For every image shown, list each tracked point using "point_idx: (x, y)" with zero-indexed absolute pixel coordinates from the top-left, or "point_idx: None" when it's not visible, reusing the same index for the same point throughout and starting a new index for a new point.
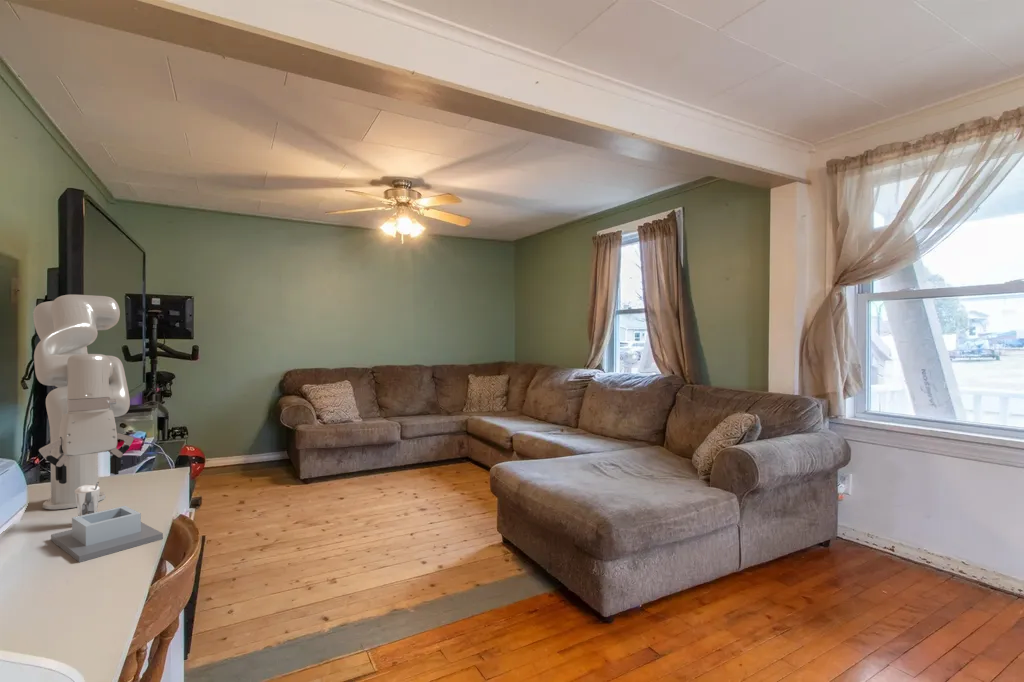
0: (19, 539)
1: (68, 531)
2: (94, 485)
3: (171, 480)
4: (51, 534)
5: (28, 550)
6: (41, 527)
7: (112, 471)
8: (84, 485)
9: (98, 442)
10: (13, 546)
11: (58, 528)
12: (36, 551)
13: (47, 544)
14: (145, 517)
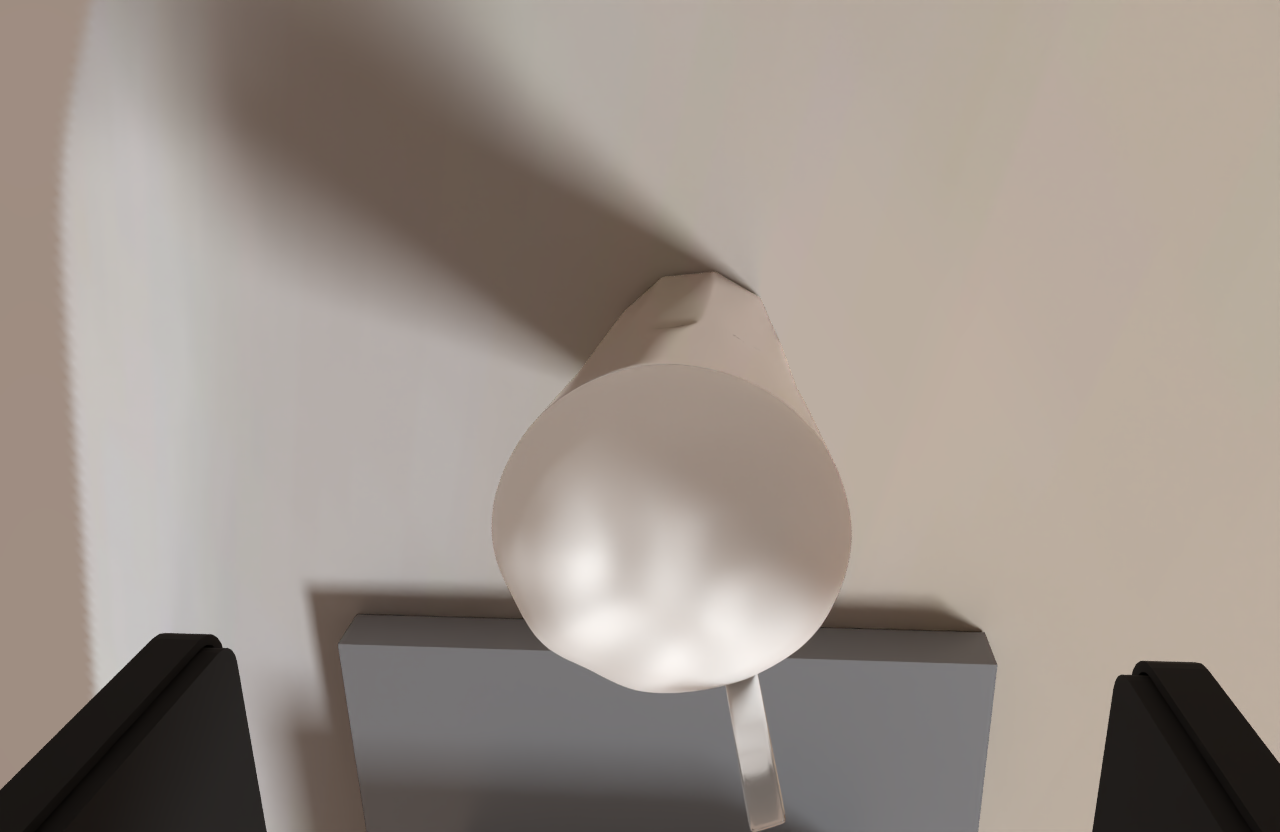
0: (144, 337)
1: (462, 683)
2: (761, 611)
3: None
4: (341, 643)
5: None
6: (321, 37)
7: (1118, 812)
8: (628, 529)
9: None
10: (113, 520)
11: (451, 264)
12: None
13: (327, 701)
14: (1136, 651)
